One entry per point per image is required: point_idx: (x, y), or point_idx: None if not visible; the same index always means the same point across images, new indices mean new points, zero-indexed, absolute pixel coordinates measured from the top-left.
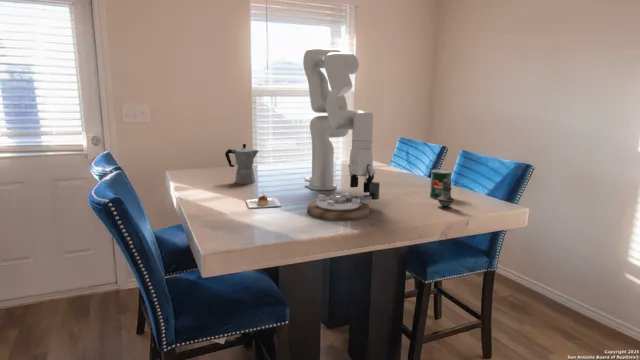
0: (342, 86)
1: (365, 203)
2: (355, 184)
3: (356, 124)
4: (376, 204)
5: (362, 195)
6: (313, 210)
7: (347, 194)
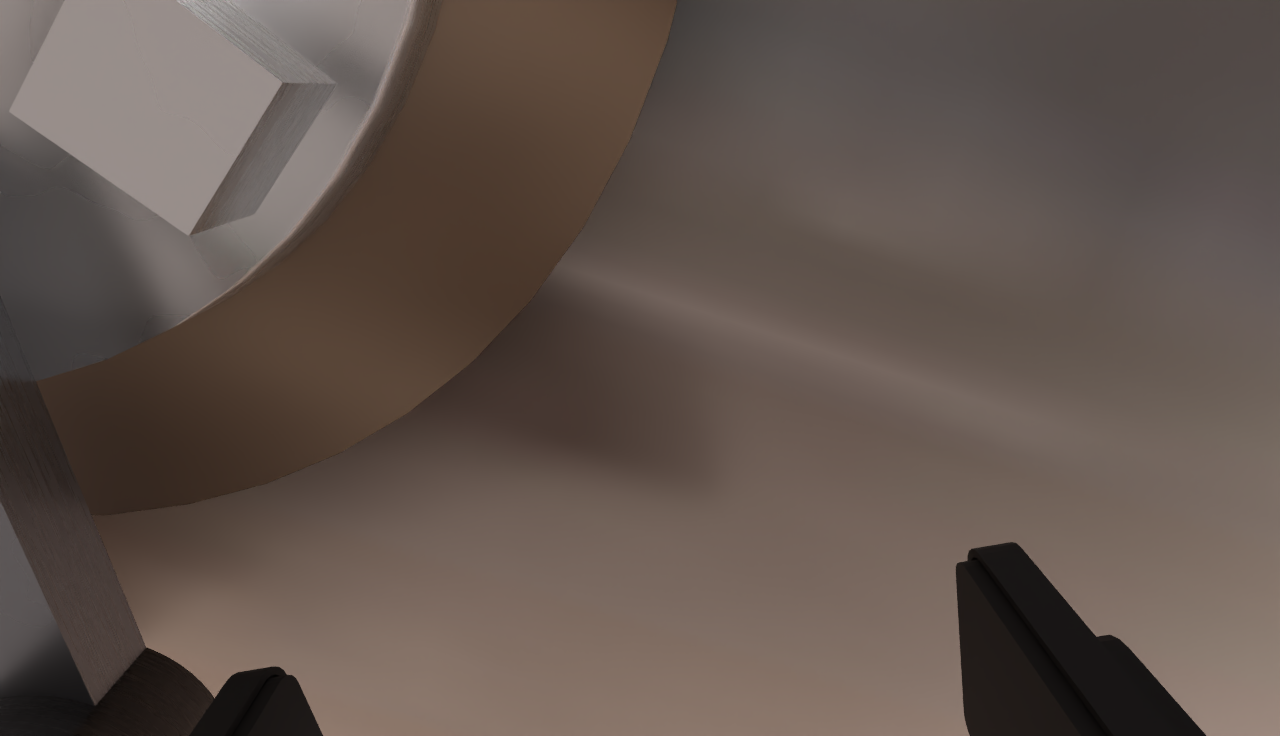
0: None
1: (132, 500)
2: (997, 721)
3: None
4: (485, 698)
5: (16, 546)
6: None
7: (76, 149)
